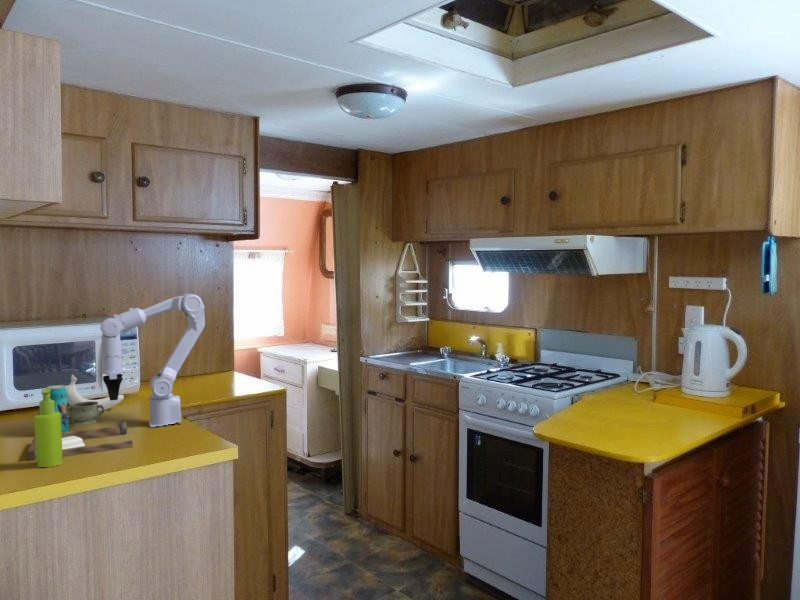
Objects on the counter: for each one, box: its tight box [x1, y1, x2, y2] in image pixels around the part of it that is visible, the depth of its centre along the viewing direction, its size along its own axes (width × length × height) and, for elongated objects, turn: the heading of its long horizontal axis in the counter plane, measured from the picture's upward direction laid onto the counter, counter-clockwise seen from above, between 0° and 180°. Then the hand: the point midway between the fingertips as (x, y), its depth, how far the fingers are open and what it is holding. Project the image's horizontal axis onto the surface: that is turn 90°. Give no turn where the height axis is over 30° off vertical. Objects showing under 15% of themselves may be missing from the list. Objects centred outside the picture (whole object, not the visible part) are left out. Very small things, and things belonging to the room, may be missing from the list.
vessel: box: [68, 401, 105, 426], centre depth 207 cm, size 12×9×6 cm
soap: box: [62, 436, 86, 449], centre depth 176 cm, size 9×7×3 cm
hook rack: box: [27, 421, 133, 461], centre depth 178 cm, size 26×19×4 cm
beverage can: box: [46, 384, 70, 433], centre depth 191 cm, size 6×6×15 cm
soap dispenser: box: [34, 387, 64, 468], centre depth 160 cm, size 6×7×20 cm
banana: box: [66, 374, 125, 412], centre depth 222 cm, size 5×19×15 cm, turn 120°
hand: (113, 398), depth 195 cm, fingers open, 4 cm apart
